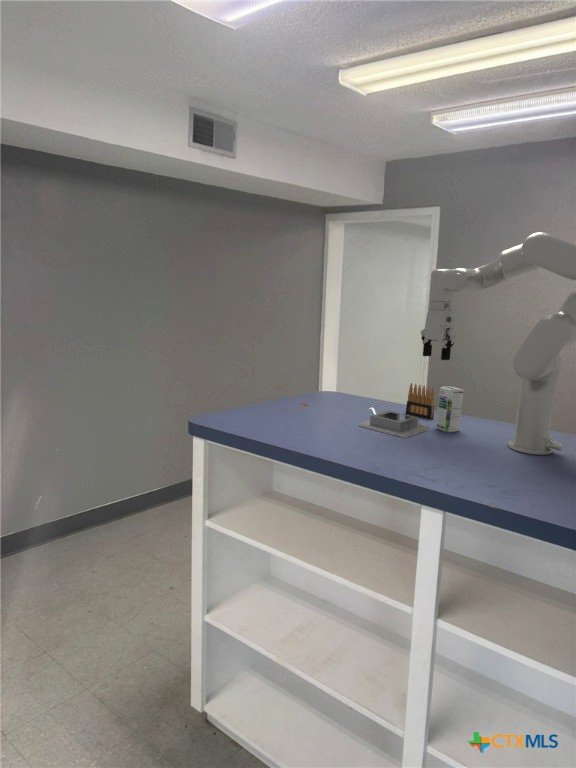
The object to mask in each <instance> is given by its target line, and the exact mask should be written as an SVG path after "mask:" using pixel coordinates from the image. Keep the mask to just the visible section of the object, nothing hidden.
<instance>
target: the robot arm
mask: <svg viewBox="0 0 576 768" xmlns="http://www.w3.org/2000/svg"><path fill="white" fill-rule="evenodd" d="M539 269H543V270H546V271H548V272H551V273H553V274H556V275H557V276H560V277H562V278H565V279H568V280H571V281H576V244H573V243H571V242H569V241H566V240H563V239H561V238H560V237H558V236H557V235H554V234H552V233H548V232H544V231H543V232H541V231H539V232H534V233H532V234H530V235H529V236H527V238H525V239H524V240H523V243H521V244H518V245H515V246H512V247H510V248H507V249H504V250H502V251H501V252H500V253H499V255H498V257H497V258H496V259H495V260H494V261H491V262H490V263H487V264H485V265H482V266H479V267H476V268H467V267H466V268H465V267H464V268H463V267H457V268H452V269H448V268H435V269H433V270H432V271H431V274H430V281H429V282H430V283H429V296H428V297H429V298H428V307H427V308H428V310H427V313H426V317H425V325H424V328H423V329H422V330H420V335H421V342H422V345H423V347H422V356H423V357H431V356H432V353H433V351H432V350H433V344H432V343H433V342H441V344H442V348H441V356H440V360H441V361H449V360H451V349H452V348H453V346H454V344H455V342H456V339H457V335H456V334H455V333H454V332H455V331H454V329H455V319H454V311H452V309H453V300H454V292H455V293H476V292H477V293H478V292H481V291H484V290H485V289H490V288H492V287H495V286H497V285H499V284H502V283H505V282H507V281H509V280H511V279H512V278H515V277H518V276H521V275H523V274H526V273H530V272H532V271H535V270H539ZM575 343H576V287H575V288H574V289H573V290H572V291H571V293H569V294H568V296H567V297H566V299H565V300H564V302H563V304H562V305H561V306H560V307H559V309H557V311H556V312H555V313H551V314H548V315H546V316H544V317H543V318H541V319H540V320H538V322H536V324H535V325H534V326H533V328H532V330H531V331H530V332H529V333H528V335H527V336H526V338H525V340H524V341H523V343H522V344H521V345H520V347H519V348H518V350H517V351H516V353H515V355H514V357H513V360H512V368H513V371H514V373H515V375H516V376H517V377H519V379H522V380H521V384H520V388H519V395H518V401H517V402H518V405H517V410H516V411H517V412H516V417H515V419H516V421H515V428H514V435H513V439H510V440H508V442H507V447H509V448H510V449H511V450H513V451H516V452H520V453H524V454H527V455H528V454H529V455H538V456H540V455H541V456H545V455H550V454H552V453H553V452H554V451H555V450H556V451H561V452H563V451H564V450H563V449H564V444H563V443H562V442H558V441H554V440H553V436H552V435H550V431H551V425H552V418H553V409H554V402H555V397H556V396H555V395H556V392H557V391H556V390H557V384H558V381H559V376H560V372H561V370H562V360H561V359H562V358H561V355H560V353H561V352H562V351H563V349H564V348H565V347H568V346H572V345H573V344H575Z"/></svg>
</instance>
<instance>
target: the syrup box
mask: <svg viewBox="0 0 576 768" xmlns="http://www.w3.org/2000/svg"><path fill="white" fill-rule="evenodd" d="M464 393H465V390H464V389H461V388H458V387H454V386H445V385H444V386H441V387H439V396H438V403H437V405H438V406H437V413H436V414H437V416H436V424H435V429H437V430H440V431H442V432H444V433H453V432H454V433H455V432H460V427H461V419H462V411H463V404H464V403H463V401H464V400H463V399H464Z"/></svg>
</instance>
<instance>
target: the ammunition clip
mask: <svg viewBox="0 0 576 768" xmlns="http://www.w3.org/2000/svg"><path fill="white" fill-rule="evenodd" d="M413 385H414V387H413ZM434 397H435V388H434V386H432V387H431V389H430V385H428V386H427V388H426V386H425V384H424V385H423V386H421V384H419V385H418V386H417V383H415V384H413V382H411V383H410V385H409V390H408V395H407V401H406V408H405V415H408V414H409V415H411V416H412V415H415V417H416V416H418V417H419V418H421V417H423V418H422V419H425V418H427V419H426V420H430V419H431V420H433V419H434V413H435V412H434V411H435V404H434V403H435V398H434Z"/></svg>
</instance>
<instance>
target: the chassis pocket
mask: <svg viewBox="0 0 576 768" xmlns="http://www.w3.org/2000/svg"><path fill="white" fill-rule="evenodd" d="M419 418H420V417H416V416H412V415H408V414H405V416H404V419H402V420H400V419H401V413H400V412H396V411H392V410H387V411H384V412H380V413H375V414H373V415H370V420H366V421H362V422H359V423H358V427H361V428H365V429H369V430H373V431H377V432H380V433H385V434H387V433H388V434H389V435H392V436H395V435H396V437H399V436H400V437H399V438H403V439H406V438H410V437H412V436H415V435H419V434H421V433H424V432H427V431H429V430H430V427H429V426H426V425H421V424H419Z"/></svg>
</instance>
